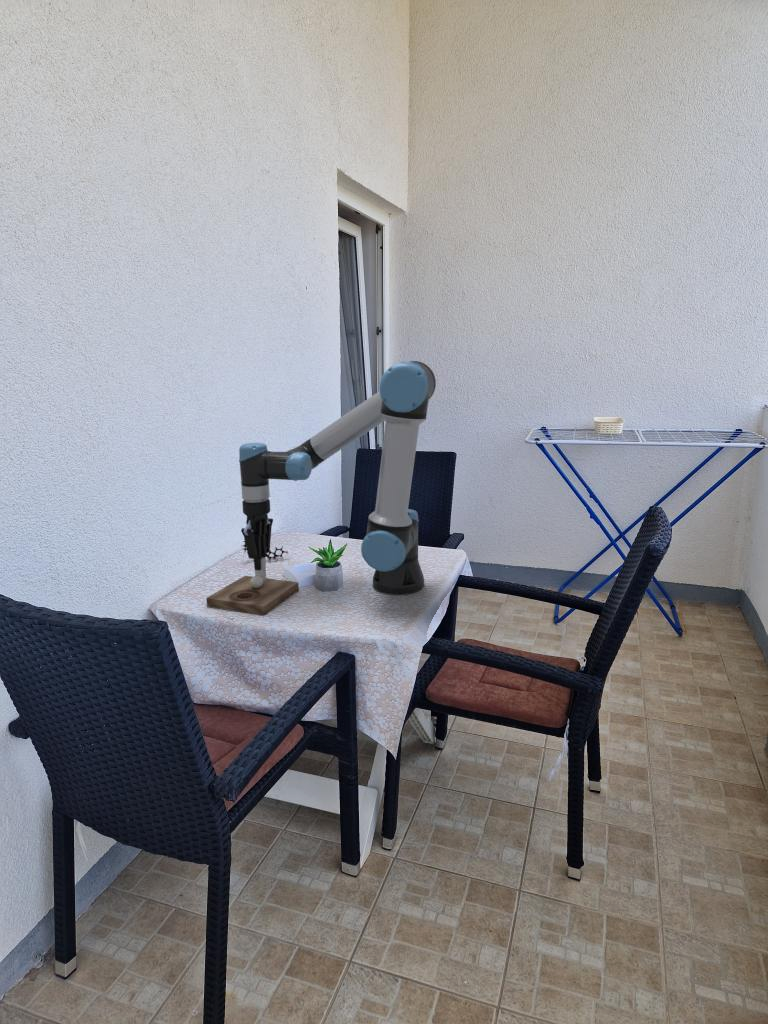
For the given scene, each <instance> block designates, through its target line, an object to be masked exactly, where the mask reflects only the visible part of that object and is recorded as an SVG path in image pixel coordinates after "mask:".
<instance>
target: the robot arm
mask: <svg viewBox="0 0 768 1024" xmlns="http://www.w3.org/2000/svg"><path fill="white" fill-rule="evenodd" d="M436 380H437V379H436V376H435V373H434V371H433V370H432V369H431V368H430V367H429V366H428V365H427V364H426V363H424V362H421V361H417V360H411V361H410V360H409V361H399V362H397V363H395V364H394V363H393V364H392V365H391V366H390V367H389V368H387V369H386V371H385V372H384V373H383V375H382V376H381V378H380V382H379V388H378V389H379V391H378V392H375V393H374V394H373V395H372V396H369V397H368V398H367V399H366V400H364V401H363V402H361V403H360V404H358V405H357V406H355V407H354V408H352V409H351V410H350V411H348V412H347V413H345V414H344V415H342V416H341V417H339V418H338V419H336V420H335V421H333V422H332V423H331V424H329V425H328V426H326V427H325V428H323V429H321V431H319V432H318V433H316V434H315V435H313V436H312V437H310V438H309V439H306V441H304V442H303V443H301V444H300V445H298V446H296V447H294V448H292V449H290V450H286V451H269V450H268V447H267V446H268V445H267V444H265V443H264V442H247V443H243V444H241V445H240V447H239V449H238V451H239V453H238V454H239V458H238V459H239V460H238V462H239V470H240V485H241V499H242V504H241V505H242V513H243V514H244V515H245V516H246V521H245V523H246V526H245V527H243V528H242V527H241V530H240V532H241V533H242V535H243V540H244V539H245V540H244V541H245V542H244V545H245V544H246V549H247V550H246V553H247V552H248V553H247V556H248V559H251V560H253V564H254V567H253V568H254V576H260V577H261V578H262V579H263V581H264V580H266V578H267V569H266V568H267V567H266V565H267V564H266V558H268V556H269V552H270V550H271V539H272V526H273V523H274V519H273V518H269V516H268V514H269V513H271V500H270V499H269V498H270V495H271V493H270V482H269V481H270V480H280V481H281V480H284V481H286V480H287V481H294V482H296V481H306V480H308V479H309V477H310V476H311V475H312V474H311V473H312V470H314V469H315V468H317V467H318V466H319V465H320V464H322V463H324V462H325V461H326V460H327V459H329V458H331V457H332V456H334V455H335V454H337V453H338V452H339V451H341V450H343V449H344V448H346V447H348V446H350V444H352V443H353V442H355V441H356V440H358V439H359V438H361V437H362V436H364V435H366V434H367V433H368V432H371V430H373V429H375V428H376V427H377V426H379V425H381V424H383V422H385V424H384V433H383V441H382V448H381V449H382V450H381V459H380V464H379V465H380V467H379V475H378V483H377V492H376V499H375V501H376V502H375V507H374V511H372V512H371V513H370V514H369V515H368V520H367V527H366V528H367V529H366V535H365V536H364V537H363V540H362V543H361V546H360V552H361V556H362V558H363V560H364V561H365V562H366V564H367V565H368V566H369V567H370V568H372V569H374V574H373V577H372V587H373V590H376V591H377V592H380V593H382V594H387V595H399V596H400V595H410V594H413V593H414V594H415V593H417V592H419V591H421V590H423V589H424V587H425V576H424V573H423V570H422V568H421V565H420V562H419V561H420V560H419V522H420V520H419V514H418V511H416V510H414V509H409V507H410V506H409V504H410V497H411V489H412V481H413V473H414V467H415V461H416V459H415V458H416V451H417V444H418V436H419V429H420V426H421V424H422V423H424V421H426V420H427V414H428V407H429V402H430V401H429V400H430V399H431V398H432V397H433V396H434V393H435V390H436V386H437V381H436Z"/></svg>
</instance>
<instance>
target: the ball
mask: <svg viewBox="0 0 768 1024" xmlns="http://www.w3.org/2000/svg"><path fill="white" fill-rule="evenodd" d="M262 584H263V579H262V578H261V577H260V576H255V575H253V577H252V579H251V585H252V586H253V587H254V588H259V587H261V586H262Z"/></svg>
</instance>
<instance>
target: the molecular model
mask: <svg viewBox="0 0 768 1024" xmlns="http://www.w3.org/2000/svg"><path fill="white" fill-rule="evenodd" d="M242 543H244V544H241V547H244V548H242V550H243V551H244V552H243V553H245V554H248V552H247V548H246V544H245V539H244V538H243V541H242ZM283 547H284V546H283V545H281V548H278V547H277V546H275V547H274V549H275V550H274V551H273V552H272V549H270V552H269V553H268V554H269V556H268V557H267V560H268V562H271V559H273V560H275V561H277V560H278V559H277V558H279V557H280V558H281V559H283V558H284V557H283V555H284V553H286V554H287V555H290V554H289V551H288V550H286V551H284V549H283ZM277 551H281V554H277ZM271 554H273V556H271Z"/></svg>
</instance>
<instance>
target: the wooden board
mask: <svg viewBox="0 0 768 1024" xmlns="http://www.w3.org/2000/svg"><path fill="white" fill-rule="evenodd" d="M252 577H254V575H253V576H251V575H243V576H242V577H240V578H238V579H237V580H235V581H233V582H232V583H229V584H228V585H227V586H226V585H225V587H222V588H221V589H219V590H218V591H216V592H214V593H212V594H211V595H209V596H208V597H206V607H207V606H209V607H208V608H213V607H215V608H214V609H219V608H222V609H221V610H226V609H227V611H232V610H234V612H239V611H240V612H241V613H248V614H254V615H258V616H259V615H260V616H266V615H267V614H268V613H269V612H271V611H273V610H274V609H275V608H277V607H278V606H279V605H281V604H282V603H283V602H285V601H287V600H288V599H289V598H291V597H292V596H293V595H294V594H297V592H299V588H300V587H299V586H300V585H299V581H298V582H297V581H292V580H291V581H290V580H283V579H275V578H267V577H266V580H264V581H263V584H262V586H261V587H259V588H254V587H253V586H252V585H251V579H252Z"/></svg>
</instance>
